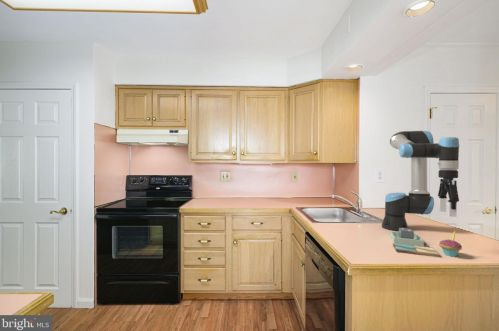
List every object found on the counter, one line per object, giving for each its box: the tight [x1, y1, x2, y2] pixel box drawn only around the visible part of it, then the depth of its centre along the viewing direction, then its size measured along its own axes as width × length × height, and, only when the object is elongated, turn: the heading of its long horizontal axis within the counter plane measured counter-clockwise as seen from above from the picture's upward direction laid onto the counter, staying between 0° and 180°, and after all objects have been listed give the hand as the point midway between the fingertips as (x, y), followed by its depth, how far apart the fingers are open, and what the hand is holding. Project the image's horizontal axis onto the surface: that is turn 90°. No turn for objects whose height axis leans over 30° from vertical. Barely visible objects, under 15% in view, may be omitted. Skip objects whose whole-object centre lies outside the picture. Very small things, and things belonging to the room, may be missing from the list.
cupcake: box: [439, 231, 463, 258], centre depth 123 cm, size 9×8×12 cm
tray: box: [389, 230, 425, 247], centre depth 143 cm, size 14×14×3 cm
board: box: [392, 242, 441, 258], centre depth 128 cm, size 11×18×1 cm, turn 69°
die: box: [398, 227, 415, 239], centre depth 143 cm, size 6×6×6 cm
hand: (447, 213), depth 123 cm, fingers open, 13 cm apart
